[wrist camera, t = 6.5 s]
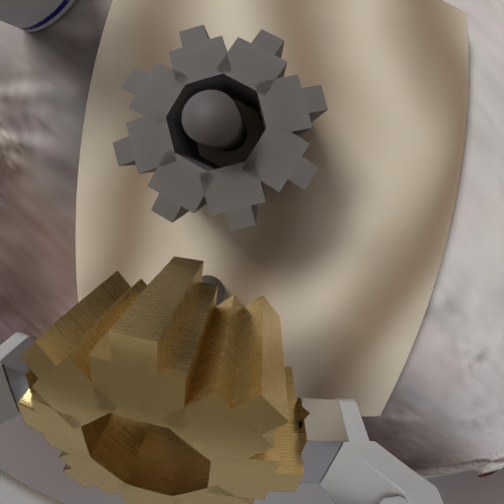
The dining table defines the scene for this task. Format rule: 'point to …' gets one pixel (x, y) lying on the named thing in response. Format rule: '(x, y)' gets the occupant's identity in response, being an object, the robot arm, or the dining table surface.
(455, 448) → the dining table surface
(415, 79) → the gear board
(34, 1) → the energy drink
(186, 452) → the brass gear
